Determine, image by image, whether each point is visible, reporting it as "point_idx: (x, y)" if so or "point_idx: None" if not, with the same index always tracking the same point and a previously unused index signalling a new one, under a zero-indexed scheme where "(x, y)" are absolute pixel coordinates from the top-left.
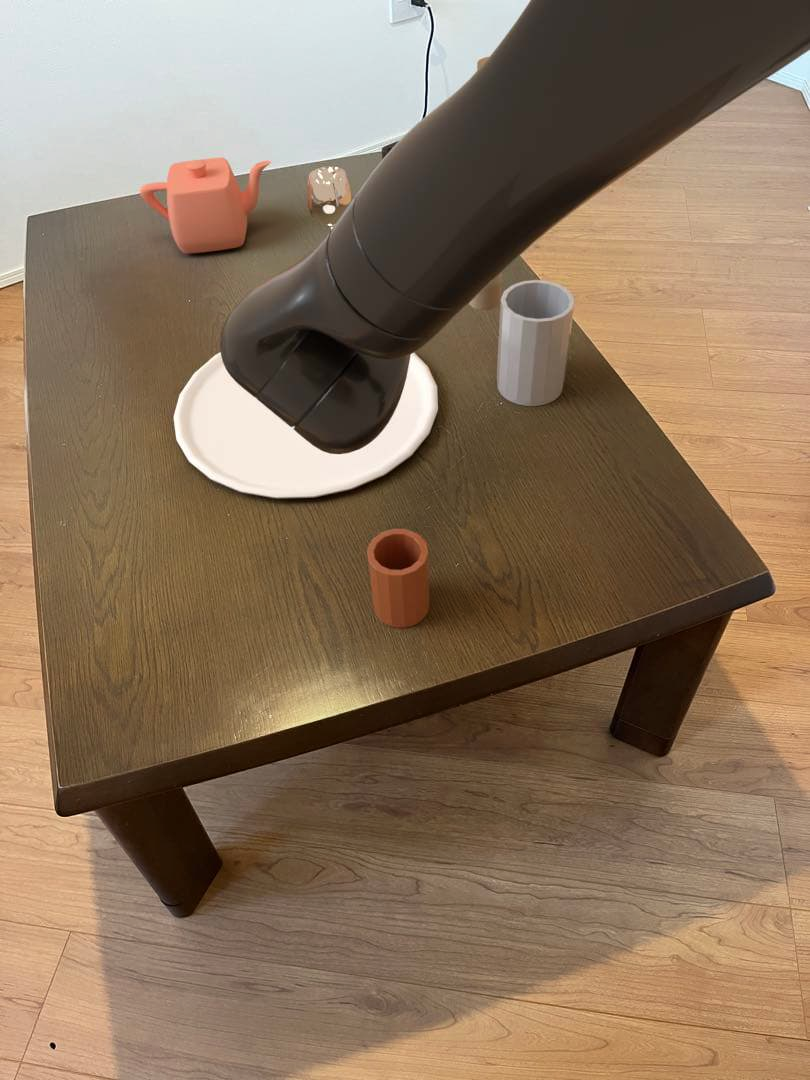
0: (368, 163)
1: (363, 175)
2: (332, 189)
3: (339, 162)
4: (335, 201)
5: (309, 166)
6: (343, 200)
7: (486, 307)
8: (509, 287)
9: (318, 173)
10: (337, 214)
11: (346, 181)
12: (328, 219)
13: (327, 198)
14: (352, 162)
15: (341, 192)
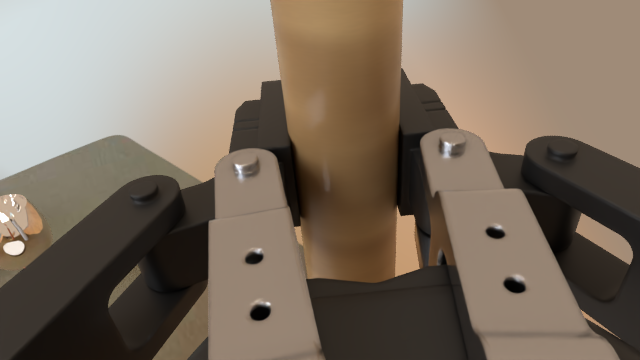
0: (72, 158)
1: (69, 172)
2: (9, 228)
3: (40, 166)
4: (20, 240)
5: (5, 179)
6: (32, 234)
7: None
8: None
9: None
10: (29, 254)
11: (30, 210)
12: (17, 264)
13: (5, 241)
14: (54, 162)
15: (25, 226)
